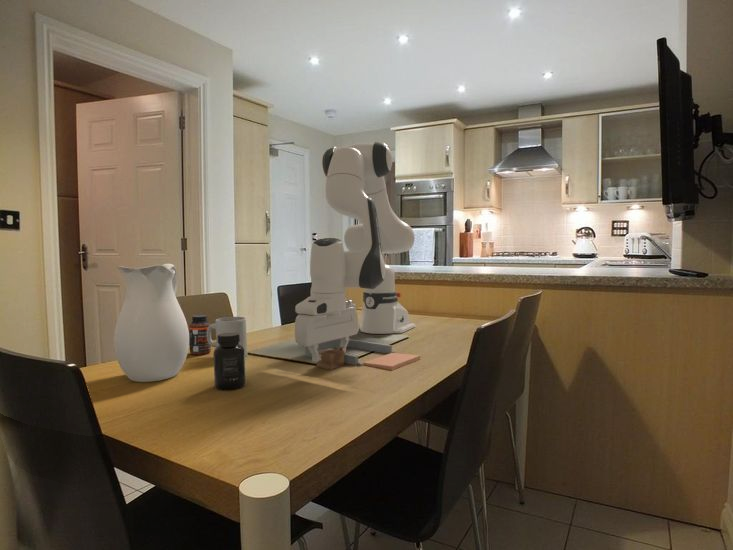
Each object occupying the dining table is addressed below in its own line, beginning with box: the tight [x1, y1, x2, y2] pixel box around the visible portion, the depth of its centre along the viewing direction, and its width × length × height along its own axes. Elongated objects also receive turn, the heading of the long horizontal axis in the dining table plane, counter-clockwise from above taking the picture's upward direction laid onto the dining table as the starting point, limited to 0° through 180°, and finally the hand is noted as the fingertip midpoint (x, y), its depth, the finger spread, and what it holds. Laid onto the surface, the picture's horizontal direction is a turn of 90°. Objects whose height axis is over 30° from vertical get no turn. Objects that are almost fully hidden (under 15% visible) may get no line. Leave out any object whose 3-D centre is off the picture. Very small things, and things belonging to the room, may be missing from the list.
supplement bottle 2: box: [212, 333, 247, 391], centre depth 108 cm, size 7×7×12 cm
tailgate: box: [362, 352, 421, 371], centre depth 123 cm, size 1×13×9 cm
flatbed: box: [304, 338, 397, 367], centre depth 132 cm, size 20×16×10 cm
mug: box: [207, 316, 248, 358], centre depth 137 cm, size 12×8×11 cm
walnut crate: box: [315, 348, 345, 371], centre depth 120 cm, size 5×5×5 cm
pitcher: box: [113, 263, 190, 383], centre depth 120 cm, size 24×17×28 cm
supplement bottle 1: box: [188, 314, 212, 356], centre depth 141 cm, size 6×6×11 cm
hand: (329, 357), depth 120 cm, fingers open, 8 cm apart
